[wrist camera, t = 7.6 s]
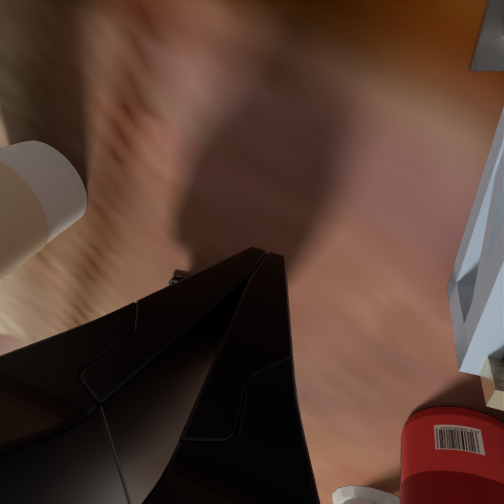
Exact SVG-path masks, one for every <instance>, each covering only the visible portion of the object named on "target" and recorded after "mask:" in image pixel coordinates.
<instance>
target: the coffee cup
mask: <svg viewBox="0 0 504 504" xmlns="http://www.w3.org/2000/svg"><path fill="white" fill-rule="evenodd" d="M86 208H87V194H86V190H85V187H84V184H83V182H82V180H81V178H80V176H79V174H78V172H77V171H76V169H75V168H74V167H73V165H72V164H71V163H70V162H69V160H68V159H67V158H66V157H65V156H64V155H62V154H61V153H60V152H59V151H58V150H56V149H55V148H53V147H52V146H50V145H48V144H46V143H43V142H40V141H26V142H21V143H17V144H13V145H8V146H4V147H0V281H2V280H3V279H4V278H5V277H7V276H8V275H9V274H11V273H12V272H13V271H14V270H16V269H17V268H18V267H20V266H21V265H22V264H23V263H25V262H26V261H27V260H29V259H30V258H31V257H32V256H34V255H35V254H36V253H37V252H39V251H40V250H41V249H43V248H44V247H45V245H46V244H47V243H48V242H49V241H51V240H52V239H53V238H55V237H56V236H57V235H59V234H60V233H61V232H63V231H64V230H65V229H66V228H68V227H69V226H70V225H72V224H73V223H74V222H76V221H77V220H78V219H80V218H81V217H82V216H83V215H84V213H85V211H86Z"/></svg>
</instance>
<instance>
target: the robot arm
mask: <svg viewBox="0 0 504 504" xmlns="http://www.w3.org/2000/svg"><path fill="white" fill-rule="evenodd" d="M0 504H320V500H319V496H318V492H317V487H316V483H315V478H314V474H313V470H312V465H311V461H310V457H309V452H308V448H307V443H306V439H305V435H304V430H303V426H302V420H301V415H300V410H299V404H298V398H297V390H296V382H295V372H294V361H293V349H292V336H291V323H290V310H289V297H288V284H287V271H286V259H285V256H283V255H280V254H277V253H273V252H269V253H268V252H267V251H266V250H263V249H260V248H256V247H250V248H248V249H246V250H244V251H242V252H240V253H237V254H235V255H233V256H231V257H229V258H227V259H225V260H223V261H220V262H218V263H216V264H214V265H212V266H210V267H208V268H205V269H203V270H201V271H199V272H197V273H195V274H193V275H191V276H188V277H186V278H184V279H183V278H178V277H172V278H171V279H170V281H169V286H167V287H165V288H163V289H161V290H159V291H157V292H154V293H152V294H150V295H148V296H146V297H144V298H142V299H140V300H138V301H137V302H136V303H135V302H133V303H131V304H129V305H127V306H124V307H122V308H120V309H118V310H116V311H114V312H111V313H109V314H107V315H104V316H102V317H100V318H98V319H95V320H93V321H91V322H88V323H85V324H83V325H80V326H78V327H75V328H73V329H70V330H68V331H65V332H63V333H60V334H57V335H55V336H52V337H49V338H46V339H44V340H41V341H38V342H36V343H33V344H30V345H28V346H25V347H22V348H20V349H17V350H14V351H12V352H9V353H6V354H4V355H1V356H0Z"/></svg>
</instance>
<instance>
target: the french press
mask: <svg viewBox="0 0 504 504" xmlns="http://www.w3.org/2000/svg"><path fill="white" fill-rule="evenodd" d="M333 503H334V504H400V498H399V497H397V496H395V495H393V494H391V493H387V492H384V491H381V490H377V489H374V488H371V487H362V486H347V487H341V488H338V489H337V490H336V491H335V492H334V493H333Z"/></svg>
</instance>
